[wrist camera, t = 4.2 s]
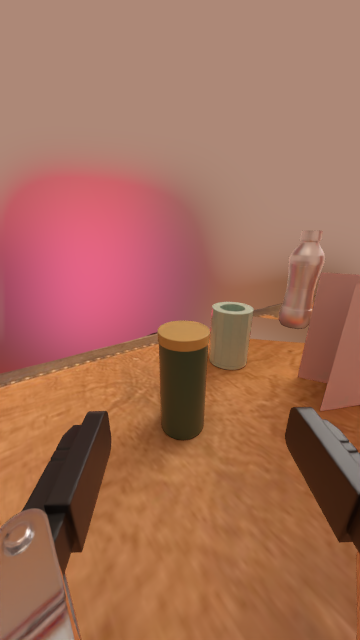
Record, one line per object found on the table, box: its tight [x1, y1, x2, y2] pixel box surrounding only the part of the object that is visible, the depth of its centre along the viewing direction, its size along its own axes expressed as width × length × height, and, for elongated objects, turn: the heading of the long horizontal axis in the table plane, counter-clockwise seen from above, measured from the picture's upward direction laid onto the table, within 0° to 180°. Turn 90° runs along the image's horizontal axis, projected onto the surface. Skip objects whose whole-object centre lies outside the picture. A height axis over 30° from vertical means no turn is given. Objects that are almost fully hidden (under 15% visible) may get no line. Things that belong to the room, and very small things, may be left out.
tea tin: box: [158, 321, 210, 440], centre depth 23 cm, size 5×5×11 cm
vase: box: [209, 302, 253, 370], centre depth 36 cm, size 6×6×9 cm
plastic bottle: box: [279, 231, 325, 329], centre depth 47 cm, size 6×7×20 cm
